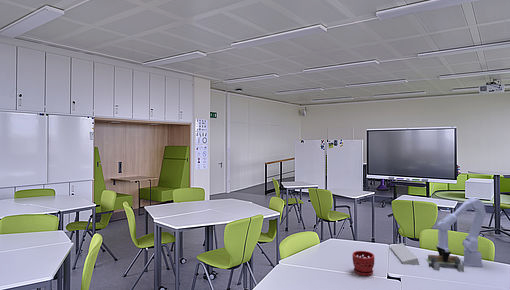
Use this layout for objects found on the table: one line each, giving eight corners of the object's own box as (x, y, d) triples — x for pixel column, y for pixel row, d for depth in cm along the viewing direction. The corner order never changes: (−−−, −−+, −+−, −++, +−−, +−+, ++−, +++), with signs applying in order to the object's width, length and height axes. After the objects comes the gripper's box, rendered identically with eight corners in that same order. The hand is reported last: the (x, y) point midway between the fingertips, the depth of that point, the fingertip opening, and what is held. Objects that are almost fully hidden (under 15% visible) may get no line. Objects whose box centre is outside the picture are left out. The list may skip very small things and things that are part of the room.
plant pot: (348, 270, 206) (348, 252, 206) (365, 267, 210) (364, 249, 210) (361, 278, 194) (361, 258, 194) (379, 275, 198) (379, 255, 198)
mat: (457, 260, 221) (457, 260, 221) (462, 265, 212) (462, 264, 212) (425, 259, 225) (425, 258, 225) (429, 263, 216) (429, 263, 216)
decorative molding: (404, 268, 216) (419, 265, 215) (402, 261, 216) (417, 258, 215) (391, 252, 250) (404, 249, 248) (389, 246, 250) (402, 243, 248)
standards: (462, 268, 207) (462, 259, 207) (466, 271, 201) (466, 262, 202) (428, 266, 211) (428, 257, 212) (431, 269, 206) (431, 260, 206)
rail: (457, 261, 218) (457, 256, 219) (459, 263, 215) (459, 257, 215) (428, 259, 222) (428, 254, 222) (429, 261, 219) (429, 256, 219)
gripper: (433, 236, 227) (433, 255, 227) (440, 242, 213) (440, 262, 212) (444, 236, 225) (444, 256, 225) (452, 242, 211) (452, 263, 211)
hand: (443, 259), depth 219 cm, fingers open, 7 cm apart
